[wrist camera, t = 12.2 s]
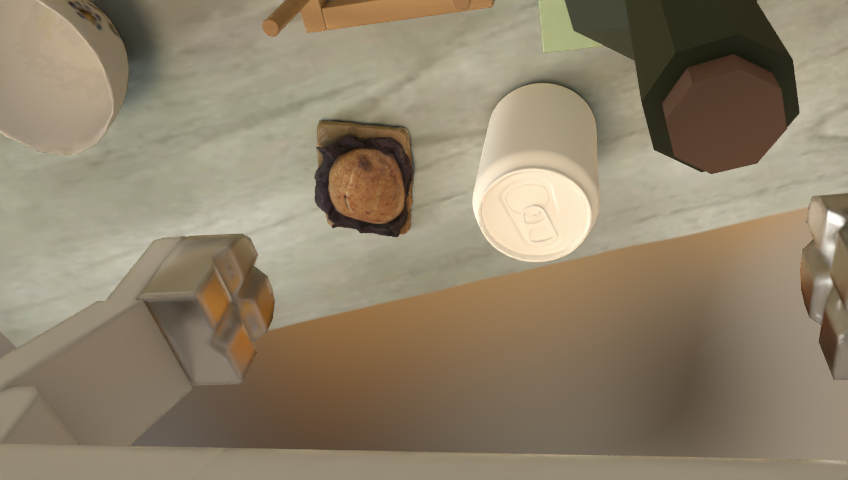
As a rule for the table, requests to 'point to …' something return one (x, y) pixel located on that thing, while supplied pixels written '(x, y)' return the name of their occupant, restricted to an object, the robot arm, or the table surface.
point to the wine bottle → (700, 74)
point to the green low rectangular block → (560, 28)
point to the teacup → (59, 74)
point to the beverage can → (538, 174)
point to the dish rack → (361, 12)
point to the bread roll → (364, 177)
